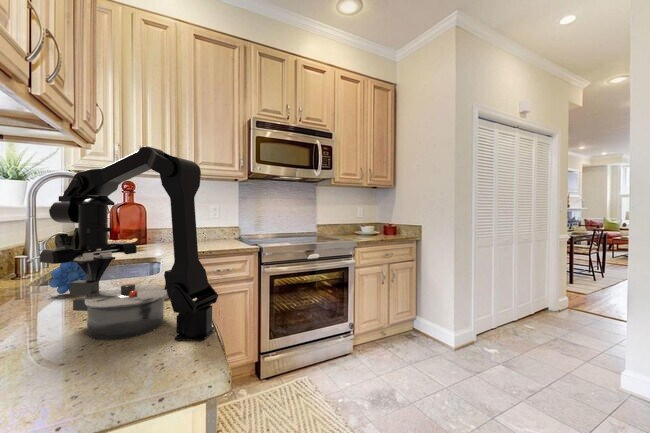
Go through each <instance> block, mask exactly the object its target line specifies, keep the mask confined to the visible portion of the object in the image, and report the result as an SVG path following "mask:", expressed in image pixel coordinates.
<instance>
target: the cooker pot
mask: <svg viewBox="0 0 650 433" xmlns="http://www.w3.org/2000/svg"><path fill="white" fill-rule="evenodd" d="M85 297H86V296H80V297H78V298H75V299H73V300H72V311H73V312H74V311H75V312H76V311H77V312H86V314H87V318H86V319H87V321H86V322H87V326H86V329H87V330H86V332H87V333H86V335H87V337H88V338H89V339H92V340H97V341H117V340H125V339H130V338H134V337H138V336H142V335H145V334H148V333H150V332H152V331H153V332H154V331H155V330H157V329H159V328H160V327H161V326H163V324H164V322H165V321H164V319H165V314H164V313H165V312H164V310H165V300H164V297H162V298H161V299H158V300H156V301H152V302H149V303H145V304H140V305H135V306H128V307H120V308H93V307H89V306H86V305H85Z"/></svg>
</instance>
